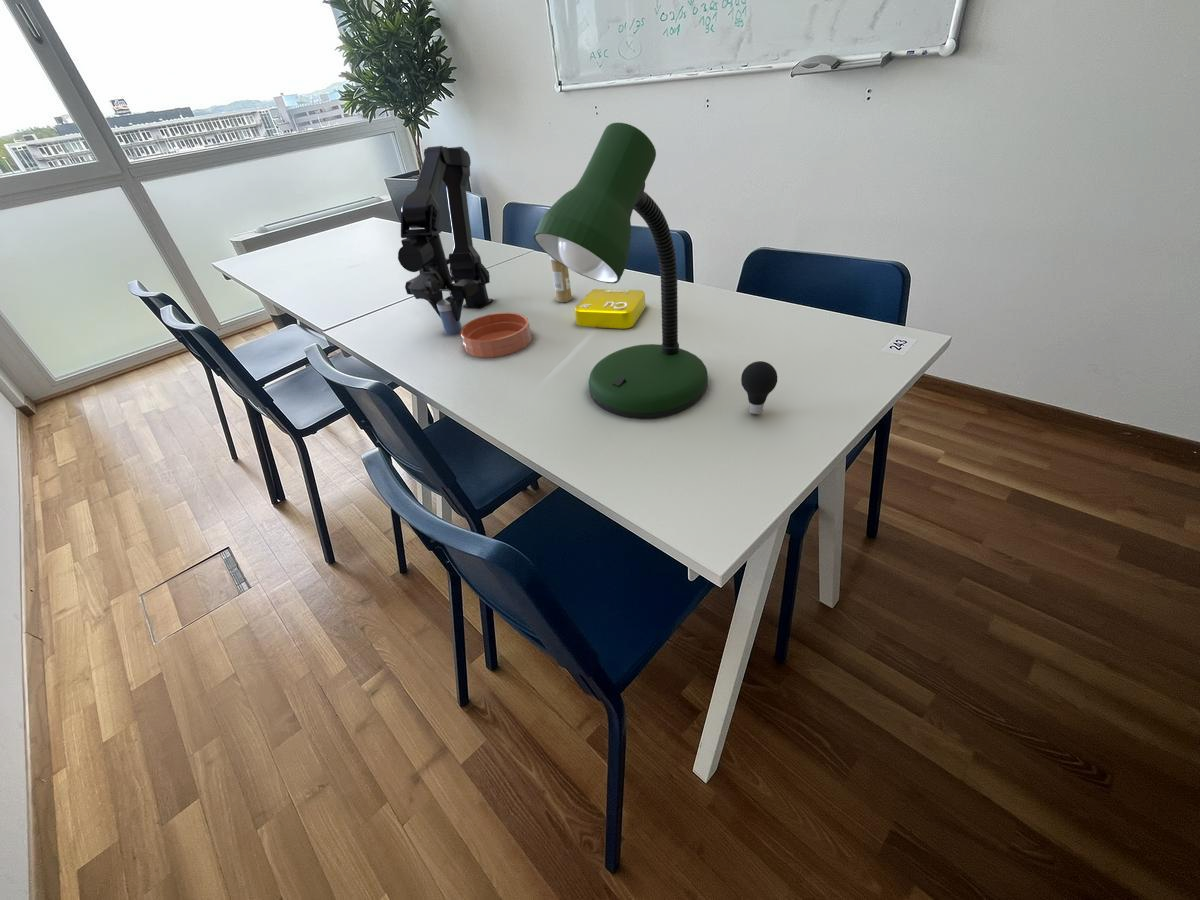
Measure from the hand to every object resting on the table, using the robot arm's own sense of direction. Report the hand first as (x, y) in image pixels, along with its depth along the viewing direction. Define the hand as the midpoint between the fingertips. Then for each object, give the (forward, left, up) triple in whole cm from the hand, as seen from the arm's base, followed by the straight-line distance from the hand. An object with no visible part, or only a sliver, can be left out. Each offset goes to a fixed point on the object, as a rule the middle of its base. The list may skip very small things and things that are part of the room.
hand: (450, 319), depth 131 cm
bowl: (+3, +16, -3) cm, 17 cm away
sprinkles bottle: (-26, +19, -4) cm, 32 cm away
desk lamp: (+17, +57, -4) cm, 60 cm away
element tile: (-18, +37, -4) cm, 41 cm away
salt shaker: (0, 0, -3) cm, 3 cm away
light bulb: (+17, +80, -4) cm, 82 cm away
